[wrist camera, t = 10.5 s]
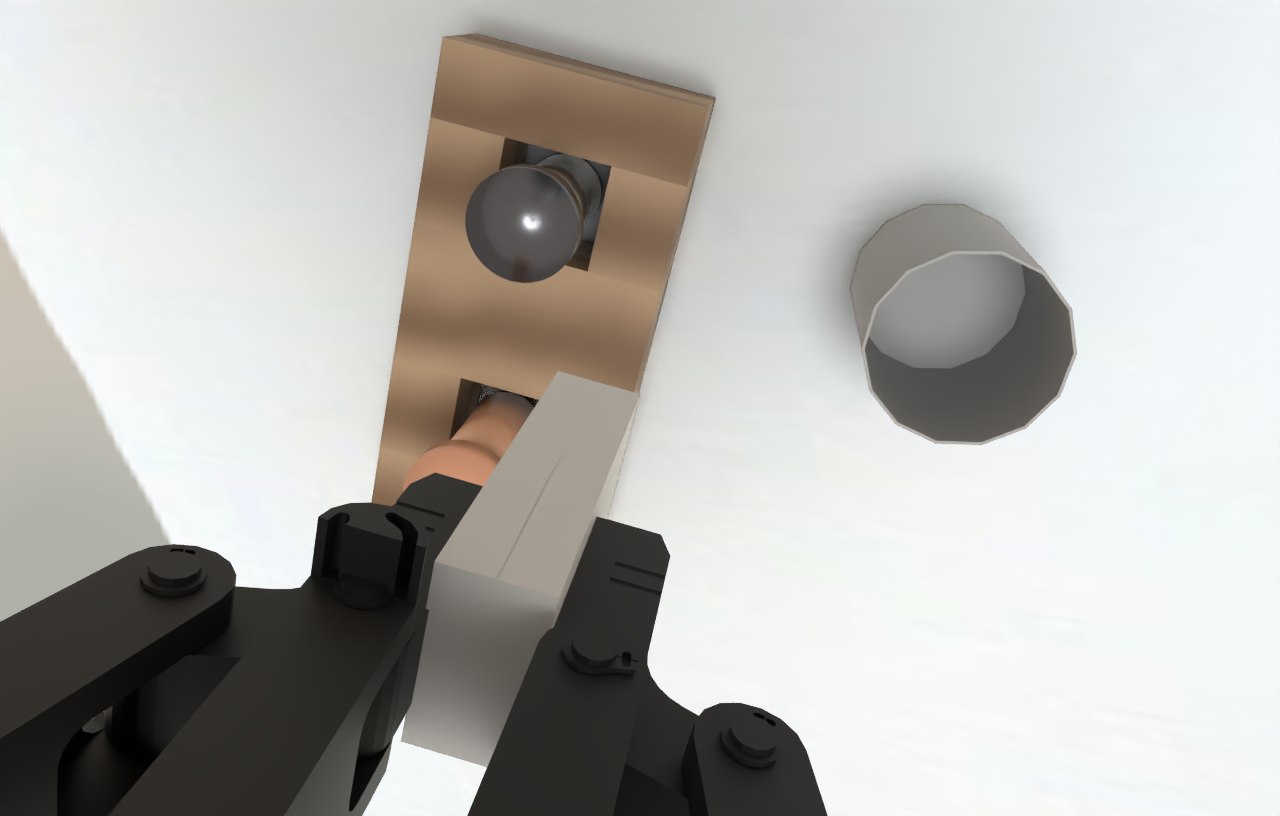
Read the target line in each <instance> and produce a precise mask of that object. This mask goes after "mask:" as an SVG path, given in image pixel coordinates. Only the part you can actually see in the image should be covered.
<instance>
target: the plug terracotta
mask: <svg viewBox="0 0 1280 816" xmlns="http://www.w3.org/2000/svg"><path fill="white" fill-rule="evenodd" d="M533 409H534V407H533V405H532V404H531V403H530V402H529V401H527V400H526V399H525V398H523V397H521V396H519V395H517V394H514V393H508V392H499V393H495V394H492V395H489V396H488V397H486V398H485V399H483V400H482V401H481V402H480V404H479V405H478V406H477V407H476V409H475V410H474V411H473V412H472V414H471V415H470V416H469V417H468V419H467V420H466V421H465V423H464V424H463V425H462V426H461V428H460V429H459V430H458V431H457V433H456V434H455V435H454V436H453V438H452V439H451V440H447V441H443V442H439V443H437V444H435V445H433V446H431V447H430V448H428V449H427V450H426V451H425V452H424V453H423V454H422V455H421V456H420V458H419V459H418V460H417V461H416V462H415V464H414V465H413V466H412V467H411V468H410V470H409V472H408V473H407V476H406V478H405V481H404V485H403V492H404V491H405V489H406V488H407V487H408V486H409V485H410V484H411V483H413V482H415V481H417V480H420V479H422V478H424V477H426V476H428V475H431V474H433V473H435V472H436V473H439V474H442V475H446V476H449V477H453V478H456V479H460V480H463V481H467V482H470V483H474V484H477V485H481V486H484V484H485V483H486V481H487V480H488V478H489V477H490V475H491V474H492V472H493V471H494V469H495V467H496V466H497V464H498V463H499V461H500V460H501V458H502V457H503V455H504V454H505V452H506V450H507V449H508V447H509V446H510V444H511V443H512V441H513V440H514V438H515V437H516V435H517V434H518V432H519V430H520V429H521V427H522V426H523V424H524V423H525V421H526V420H527V418H528V417H529V415H530V413H531V412H532V410H533Z"/></svg>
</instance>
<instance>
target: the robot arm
mask: <svg viewBox="0 0 1280 816" xmlns="http://www.w3.org/2000/svg"><path fill="white" fill-rule="evenodd" d="M639 398H640V394H638V393H634V392H631V391H627V390H624V389H620V388H617V387H613V386H610V385H606V384H602V383H599V382H595V381H592V380H588V379H585V378H581V377H578V376H574V375H570V374H567V373H563V372H560V371H558V372H557V373H556V375H555V376H554V378H553V380H552V381H551V383H550V384H549V386H548V387H547V389H546V390H545V392H544V393H543V395H542V397H541V398H540V400H539V401H538V403H537V404H536V406H535V407H534V409H533V410H532V412H531V413H530V415H529V417H528V418H527V420H526V421H525V423H524V424H523V426H522V427H521V429H520V430H519V432H518V434H517V435H516V437H515V438H514V440H513V441H512V443H511V444H510V446H509V447H508V449H507V450H506V452H505V454H504V455H503V457H502V458H501V460H500V461H499V463H498V464H497V466H496V467H495V469H494V471H493V472H492V474H491V475H490V477H489V478H488V480H487V481H486V483H485V484H484V486H481V485H477V484H474V483H470V482H467V481H463V480H460V479H456V478H453V477H449V476H446V475H442V474H439V473H436V472H435V473H433V474H431V475H428V476H426V477H424V478H422V479H420V480H417V481H415V482H413V483H411V484H410V485H409V486H408V487H407V488H406V489H405V491H404V492H403V493H402V494H401V496H400V497H399V498H398V499H397V501H396V504H393V506H387V505H382V504H376V503H349V504H345V505H341V506H338V507H334V508H331V509H329V510H328V511H326V512H325V513H323V514H322V515H320V516H319V517H318V524H317V532H316V539H315V547H314V555H313V563H312V570H311V576H310V577H309V578H308V579H307V580H306V581H305V583H304V584H303V585H302V586H301V587H300V588H294V589H263V588H249V587H236V586H235V583H236V573H235V571H234V569H233V567H232V565H231V563H230V562H229V561H228V560H226V559H225V558H223V557H222V556H221V555H219V554H218V553H216V552H213V551H210V550H207V549H204V548H201V547H198V546H188V545H176V544H172V545H164V546H157V547H149V548H146V549H144V550H141V551H138V552H135V553H132V554H130V555H128V556H126V557H124V558H122V559H120V560H118V561H116V562H114V563H112V564H111V565H109V566H107V567H105V568H103V569H101V570H99V571H97V572H95V573H93V574H91V575H89V576H87V577H86V578H84V579H82V580H80V581H78V582H76V583H74V584H72V585H70V586H68V587H66V588H64V589H62V590H61V591H59V592H57V593H55V594H53V595H51V596H49V597H47V598H45V599H43V600H41V601H40V602H37V603H36V604H34V605H32V606H30V607H28V608H26V609H24V610H22V611H20V612H18V613H17V614H14V615H13V616H11V617H9V618H7V619H5V620H3V621H1V622H0V816H362V815H363V813H364V811H365V809H366V807H367V806H368V804H369V802H370V800H371V798H372V796H373V794H374V792H375V790H376V789H377V787H378V785H379V783H380V781H381V779H382V777H383V775H384V773H385V772H386V768H387V764H388V760H389V755H390V750H391V744H392V739H393V736H394V734H395V732H396V731H397V729H398V727H399V725H400V723H401V722H402V720H403V718H404V716H405V714H406V717H405V722H404V728H403V733H402V739H401V741H402V742H405V743H408V744H412V745H415V746H418V747H422V748H425V749H428V750H432V751H435V752H438V753H442V754H445V755H448V756H452V757H455V758H458V759H462V760H465V761H468V762H472V763H475V764H479V765H482V766H485V767H487V769H486V772H485V774H484V777H483V779H482V782H481V784H480V786H479V789H478V791H477V794H476V796H475V799H474V801H473V803H472V806H471V808H470V811H469V813H468V816H827V813H826V810H825V806H824V803H823V800H822V797H821V794H820V791H819V788H818V785H817V782H816V779H815V776H814V772H813V769H812V766H811V763H810V760H809V757H808V754H807V751H806V749H805V747H804V745H803V744H802V742H801V740H800V738H799V737H798V735H797V733H795V732H794V731H793V730H792V729H791V728H790V727H789V726H788V725H787V724H786V723H785V722H784V721H782V720H781V719H780V718H778V717H776V716H774V715H772V714H770V713H769V712H767V711H765V710H763V709H761V708H757V707H753V706H750V705H746V704H742V703H719V704H717V705H714V706H712V707H709V708H707V709H704V710H703V712H702V713H701V714H700V715H699V716H698V715H696V714H695V713H693V712H691V711H689V710H687V709H686V708H684V707H682V706H681V705H679V704H678V703H676V702H675V701H673V700H672V699H670V698H669V697H668V696H667V695H666V694H665V693H664V692H663V691H662V690H661V689H660V688H659V687H658V686H657V684H656V683H655V681H654V680H653V678H652V677H651V675H650V672H649V668H648V665H647V657H648V650H649V646H650V642H651V637H652V633H653V629H654V624H655V620H656V616H657V611H658V607H659V602H660V598H661V593H662V589H663V585H664V581H665V576H666V572H667V568H668V563H669V559H670V554H669V552H668V550H667V548H666V545H665V543H664V541H663V539H662V536H661V535H660V534H657V533H653V532H650V531H646V530H643V529H639V528H636V527H632V526H629V525H625V524H622V523H618V522H615V521H611V520H608V516H609V512H610V509H611V505H612V501H613V497H614V493H615V489H616V486H617V482H618V478H619V474H620V470H621V467H622V463H623V459H624V455H625V451H626V448H627V444H628V440H629V436H630V432H631V428H632V425H633V421H634V417H635V413H636V409H637V406H638V402H639Z"/></svg>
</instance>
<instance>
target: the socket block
mask: <svg viewBox="0 0 1280 816" xmlns="http://www.w3.org/2000/svg"><path fill="white" fill-rule="evenodd" d="M715 99H716V98H714V97H710V96H707V95H703V94H699V93H695V92H692V91H688V90H684V89H681V88H677V87H673V86H669V85H666V84H662V83H658V82H654V81H651V80H647V79H643V78H640V77H636V76H632V75H628V74H625V73H621V72H617V71H613V70H610V69H606V68H602V67H599V66H595V65H591V64H587V63H584V62H580V61H576V60H572V59H569V58H565V57H561V56H558V55H554V54H550V53H546V52H543V51H539V50H535V49H531V48H528V47H524V46H520V45H517V44H513V43H509V42H505V41H502V40H498V39H494V38H490V37H487V36H483V35H479V34H467V35H457V36H447V37H443V39H442V46H441V52H440V59H439V65H438V72H437V78H436V85H435V91H434V98H433V104H432V111H431V117H430V124H429V130H428V137H427V144H426V150H425V157H424V163H423V170H422V176H421V183H420V189H419V196H418V202H417V209H416V215H415V222H414V228H413V235H412V242H411V248H410V255H409V261H408V268H407V274H406V281H405V287H404V294H403V300H402V307H401V313H400V320H399V326H398V333H397V340H396V346H395V353H394V359H393V366H392V372H391V379H390V385H389V392H388V398H387V405H386V411H385V418H384V424H383V431H382V438H381V444H380V451H379V457H378V464H377V470H376V477H375V483H374V490H373V496H372V503H376V504H382V505H387V506H393V504H396V501H397V499H398V498H399V497H400V496H401V494H402V493H403V485H404V481H405V478H406V476H407V473H408V472H409V470H410V468H411V467H412V466H413V465H414V464H415V462H416V461H417V460H418V459H419V458H420V456H421V455H422V454H423V453H424V452H425V451H426V450H427V449H428V448H430V447H431V446H433V445H435V444H437V443H439V442H443V441H447V440H451V439H452V438H453V436H454V435H455V434H456V433H457V431H458V430H459V429H460V428H461V426H462V425H463V424H464V423H465V421H466V420H467V419H468V417H469V416H470V415H471V414H472V412H473V411H474V410H475V409H476V407H477V405H478V400H479V395H480V390H481V385H482V384H484V385H488V386H492V387H495V388H499V389H502V390H506V391H509V392H513V393H516V394H520V395H523V396H527V397H530V398H534V399H537V400H540V398H541V397H542V395H543V393H544V392H545V390H546V389H547V387H548V386H549V384H550V383H551V381H552V380H553V378H554V376H555V375H556V373H557V372H558V371H560V372H563V373H567V374H570V375H574V376H578V377H581V378H585V379H588V380H592V381H595V382H599V383H602V384H606V385H610V386H613V387H617V388H620V389H624V390H627V391H631V392H634V393H638V394H639V390H640V386H641V383H642V379H643V375H644V371H645V367H646V363H647V360H648V356H649V352H650V348H651V344H652V341H653V337H654V333H655V329H656V325H657V321H658V318H659V314H660V310H661V306H662V302H663V298H664V295H665V291H666V287H667V283H668V279H669V275H670V272H671V268H672V264H673V260H674V256H675V252H676V249H677V245H678V241H679V237H680V233H681V229H682V226H683V222H684V218H685V214H686V210H687V206H688V203H689V199H690V195H691V191H692V187H693V184H694V180H695V176H696V172H697V168H698V164H699V161H700V157H701V153H702V149H703V145H704V141H705V138H706V134H707V130H708V126H709V122H710V118H711V115H712V111H713V107H714V103H715ZM528 144H531V145H535V146H539V147H542V148H546V149H550V150H553V151H557V152H561V153H564V154H568V155H572V156H575V157H579V158H583V159H586V160H590V161H594V162H597V163H601V164H605V165H608V166H612V167H611V171H610V175H609V180H608V184H607V189H606V193H605V197H604V202H603V206H602V211H601V215H600V219H599V224H598V228H597V233H596V237H595V241H594V244H591V243H587V242H583V241H581V242H580V244H579V247H578V249H577V251H576V252H575V254H574V255H573V256H572V258H571V259H570V260H569V261H568V262H567V264H566V265H565V266H564V267H563V268H562V269H561V270H560V271H559V272H557V273H556V274H554V275H553V276H551V277H549V278H547V279H545V280H542V281H538V282H533V283H519V282H513V281H509V280H506V279H504V278H502V277H499V276H497V275H496V274H494V273H493V272H491V271H490V270H489V269H488V268H486V267H485V266H484V265H483V264H482V263H481V262H480V260H479V259H478V258H477V256H476V255H475V253H474V252H473V250H472V248H471V246H470V243H469V241H468V237H467V234H466V227H465V216H466V210H467V205H468V202H469V200H470V197H471V196H472V194H473V192H474V190H475V189H476V188H477V187H478V185H479V184H480V183H481V182H482V181H483V180H485V179H486V178H487V177H489V176H490V175H492V174H494V173H496V172H497V171H499V170H501V169H503V168H505V167H508V166H511V165H516V164H524V161H525V156H526V151H527V146H528Z"/></svg>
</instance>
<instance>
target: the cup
mask: <svg viewBox="0 0 1280 816" xmlns="http://www.w3.org/2000/svg"><path fill="white" fill-rule="evenodd" d="M850 289H851V295H852V300H853V305H854V311H855V316H856V322H857V327H858V332H859V338H860V343H861V349H862V354H863V359H864V365H865V370H866V376H867V381H868V386H869V391H870V392H871V394H872V395H873V396H874V397H875V399H876V400H877V401H878V402H879V404H880V405H881V406H882V408H883V409H884V410H885V411H886V413H887V414H888V415H889V416H890V418H891V419H892V420H893V421H894V423H895V424H896V425H898V426H900V427H902V428H904V429H907V430H909V431H911V432H913V433H915V434H917V435H919V436H921V437H923V438H925V439H927V440H929V441H932V442H934V443H938V444H968V445H983V444H986V443H988V442H991V441H994V440H996V439H999V438H1002V437H1004V436H1007V435H1010V434H1012V433H1015V432H1018V431H1020V430H1023V429H1026V428H1027V427H1028V426H1029V425H1030V424H1031V423H1032V422H1033V421H1034V420H1035V419H1036V418H1038V417H1039V416H1040V415H1041V414H1042V413H1043V412H1044V411H1045V410H1046V409H1047V408H1048V407H1049V406H1050V405H1051V404H1052V403H1053V402H1054V401H1055V400H1057V399H1058V398H1059V397H1060V395H1061V393H1062V390H1063V388H1064V385H1065V383H1066V380H1067V378H1068V375H1069V373H1070V370H1071V367H1072V365H1073V362H1074V360H1075V357H1076V355H1077V349H1076V340H1075V331H1074V322H1073V313H1072V308H1071V307H1070V306H1069V304H1068V303H1067V301H1066V300H1065V299H1064V297H1063V296H1062V294H1061V293H1060V292H1059V290H1058V289H1057V287H1056V286H1055V285H1054V283H1053V282H1052V281H1051V279H1050V278H1049V276H1048V275H1047V274H1046V272H1045V271H1044V270H1043V269H1042V268H1041V267H1040V266H1039V265H1038V264H1037V262H1036V261H1035V260H1034V259H1033V258H1032V257H1031V256H1030V255H1029V254H1028V253H1027V252H1026V251H1025V249H1024V248H1023V247H1022V246H1021V245H1020V244H1019V243H1018V242H1017V241H1016V240H1015V239H1014V237H1013V236H1012V235H1011V234H1010V233H1009V232H1008V231H1007V230H1006V229H1005V228H1004V227H1003V226H1002V224H1001V223H1000V222H999V221H997V220H995V219H993V218H991V217H989V216H986V215H984V214H982V213H980V212H978V211H976V210H974V209H972V208H970V207H968V206H966V205H964V204H924V205H921V206H919V207H917V208H915V209H912V210H910V211H908V212H906V213H904V214H901V215H899V216H897V217H895V218H893V219H890V220H888V221H886V222H885V224H884V225H883V226H882V227H881V228H880V229H879V230H878V231H877V233H876V234H875V235H874V236H873V237H872V238H871V239H870V241H869V242H868V243H867V244H866V245H865V246H864V247H863V248H862V250H861V251H860V254H859V258H858V261H857V264H856V268H855V271H854V275H853V278H852V282H851V285H850Z"/></svg>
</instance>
